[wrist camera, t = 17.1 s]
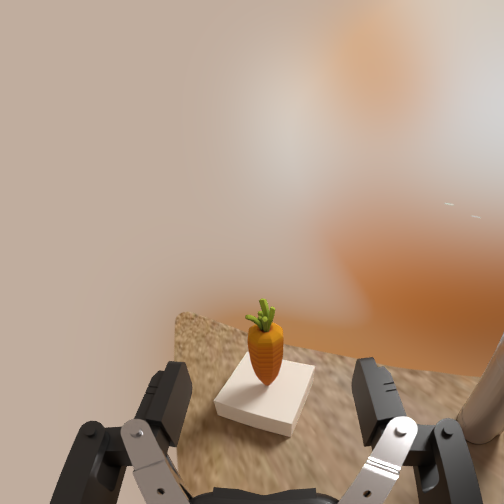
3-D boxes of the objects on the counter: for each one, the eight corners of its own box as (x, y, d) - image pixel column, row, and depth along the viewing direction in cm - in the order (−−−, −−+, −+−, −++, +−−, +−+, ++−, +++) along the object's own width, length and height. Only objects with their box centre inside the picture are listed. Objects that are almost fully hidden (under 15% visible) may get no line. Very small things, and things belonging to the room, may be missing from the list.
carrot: (276, 400, 37) (275, 320, 31) (245, 391, 39) (236, 311, 33) (288, 377, 41) (290, 297, 35) (259, 370, 43) (254, 291, 37)
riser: (313, 381, 44) (314, 366, 42) (290, 437, 34) (291, 423, 32) (249, 367, 49) (247, 351, 47) (217, 414, 39) (213, 400, 37)
